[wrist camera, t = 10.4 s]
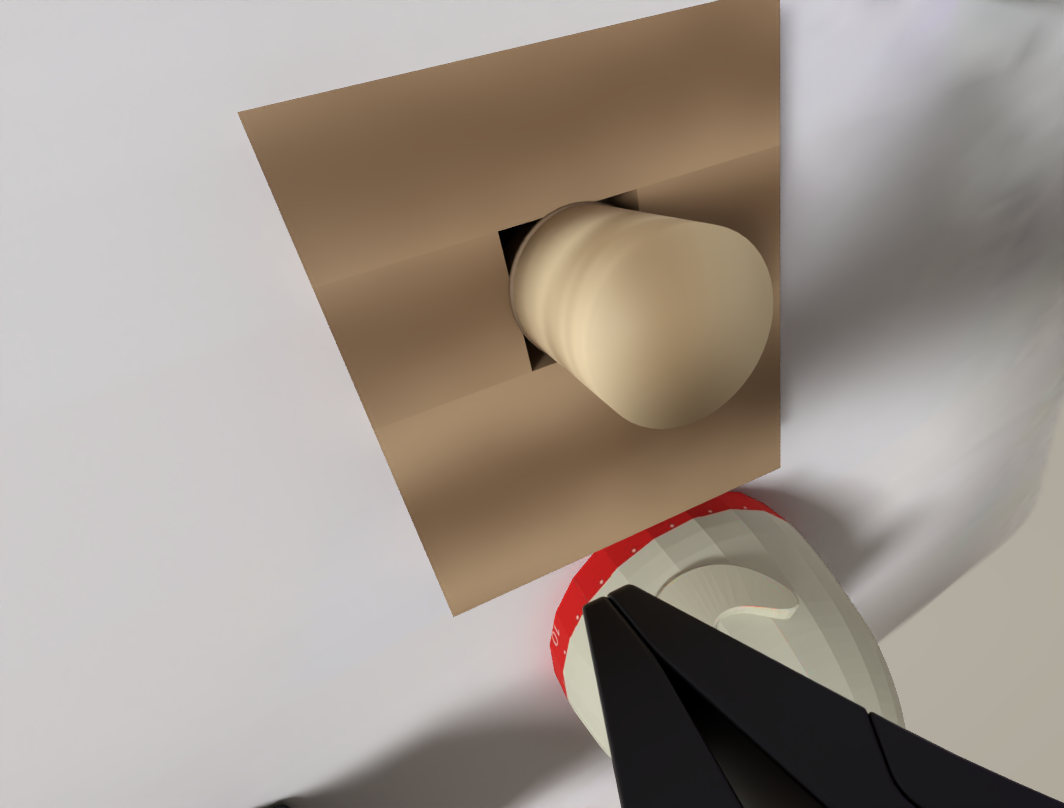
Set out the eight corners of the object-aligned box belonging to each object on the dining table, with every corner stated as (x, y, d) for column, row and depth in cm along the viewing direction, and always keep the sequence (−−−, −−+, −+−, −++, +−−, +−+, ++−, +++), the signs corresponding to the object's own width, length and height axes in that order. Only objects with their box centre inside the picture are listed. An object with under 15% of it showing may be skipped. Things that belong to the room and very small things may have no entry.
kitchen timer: (503, 600, 24) (723, 1112, 11) (757, 437, 26) (1206, 723, 13) (606, 743, 31) (813, 1157, 18) (800, 609, 33) (1117, 904, 20)
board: (731, 435, 25) (780, 467, 22) (436, 562, 22) (453, 617, 19) (709, 11, 17) (779, -14, 15) (250, 119, 14) (237, 112, 12)
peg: (595, 178, 18) (775, 194, 11) (615, 308, 20) (775, 390, 13) (464, 216, 17) (571, 260, 10) (500, 349, 19) (607, 460, 12)
